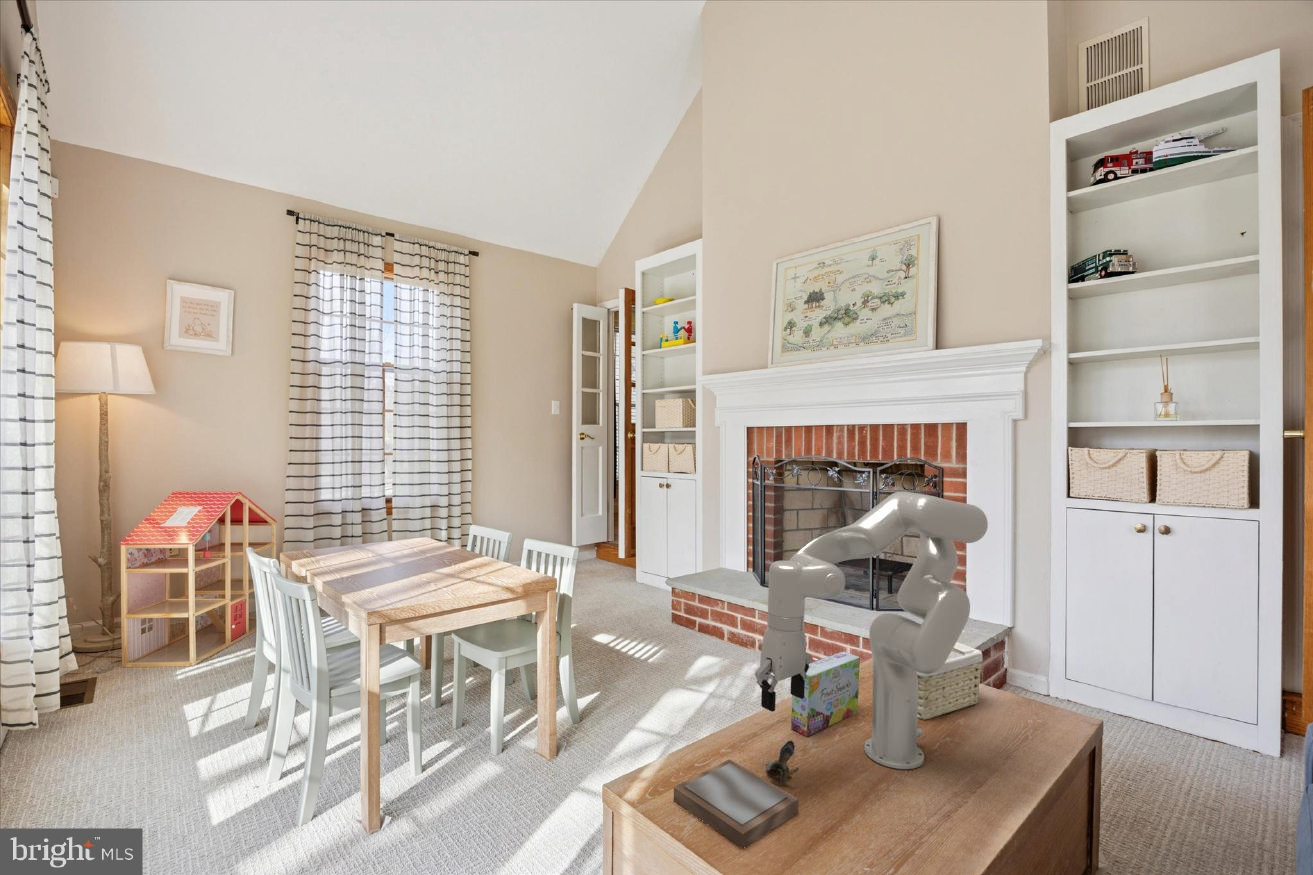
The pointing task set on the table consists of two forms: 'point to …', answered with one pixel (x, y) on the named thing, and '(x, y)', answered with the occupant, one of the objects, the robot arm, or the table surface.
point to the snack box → (827, 694)
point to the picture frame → (736, 802)
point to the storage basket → (950, 684)
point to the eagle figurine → (783, 762)
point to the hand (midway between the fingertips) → (783, 702)
